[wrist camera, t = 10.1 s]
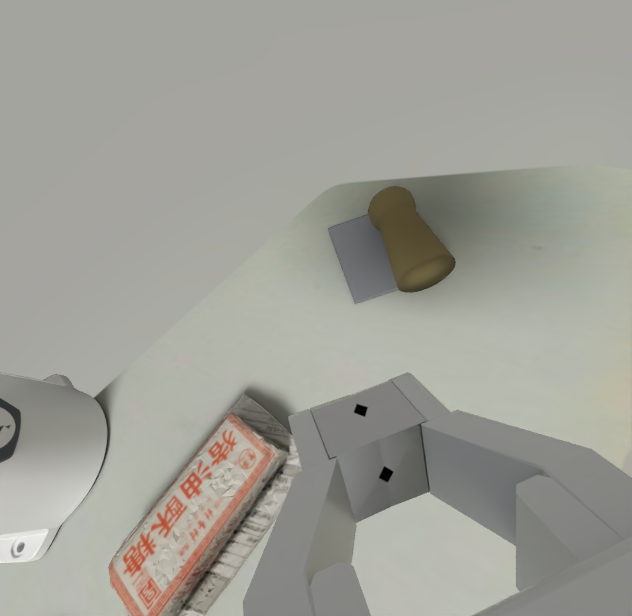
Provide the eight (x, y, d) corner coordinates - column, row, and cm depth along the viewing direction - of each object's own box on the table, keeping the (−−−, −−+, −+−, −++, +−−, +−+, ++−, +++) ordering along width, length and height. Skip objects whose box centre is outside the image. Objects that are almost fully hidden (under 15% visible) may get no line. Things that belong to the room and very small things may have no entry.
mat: (355, 304, 38) (354, 301, 37) (328, 231, 43) (328, 228, 42) (442, 274, 37) (443, 271, 36) (405, 204, 42) (405, 201, 42)
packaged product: (149, 677, 23) (81, 562, 28) (187, 647, 28) (123, 551, 32) (308, 452, 28) (228, 382, 32) (321, 456, 32) (248, 394, 36)
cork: (423, 294, 38) (386, 223, 43) (467, 260, 34) (421, 185, 39) (385, 289, 34) (350, 212, 39) (429, 250, 30) (384, 170, 35)
